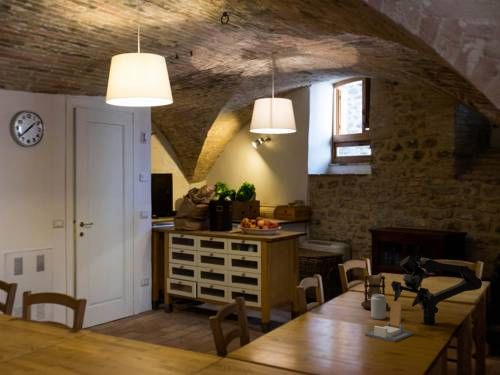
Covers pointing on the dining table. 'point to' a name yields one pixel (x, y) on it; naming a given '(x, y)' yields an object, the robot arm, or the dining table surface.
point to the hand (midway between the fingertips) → (403, 303)
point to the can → (378, 306)
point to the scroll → (373, 288)
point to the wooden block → (395, 313)
